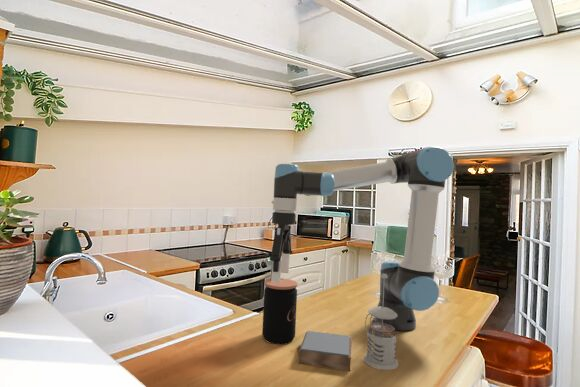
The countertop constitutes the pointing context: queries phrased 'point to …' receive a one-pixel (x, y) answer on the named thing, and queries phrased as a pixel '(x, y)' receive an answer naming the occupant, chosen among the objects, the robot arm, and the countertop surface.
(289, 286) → the coffee jar
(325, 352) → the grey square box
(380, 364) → the glass coffee plunger
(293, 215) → the robot arm
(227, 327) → the countertop surface
